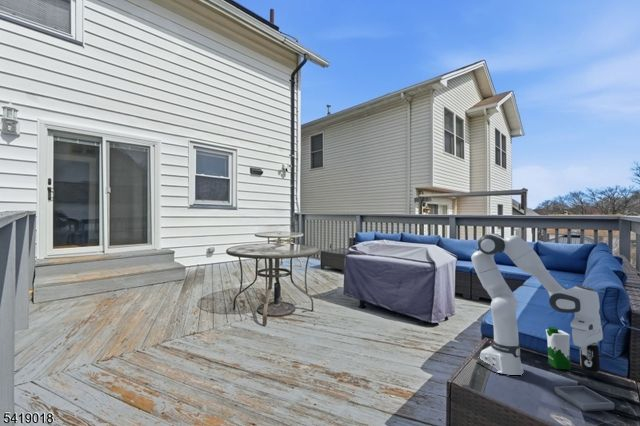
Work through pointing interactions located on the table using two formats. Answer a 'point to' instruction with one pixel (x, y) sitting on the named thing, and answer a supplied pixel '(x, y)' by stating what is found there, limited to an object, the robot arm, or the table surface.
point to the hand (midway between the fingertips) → (589, 352)
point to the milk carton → (558, 348)
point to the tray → (584, 398)
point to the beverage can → (590, 358)
